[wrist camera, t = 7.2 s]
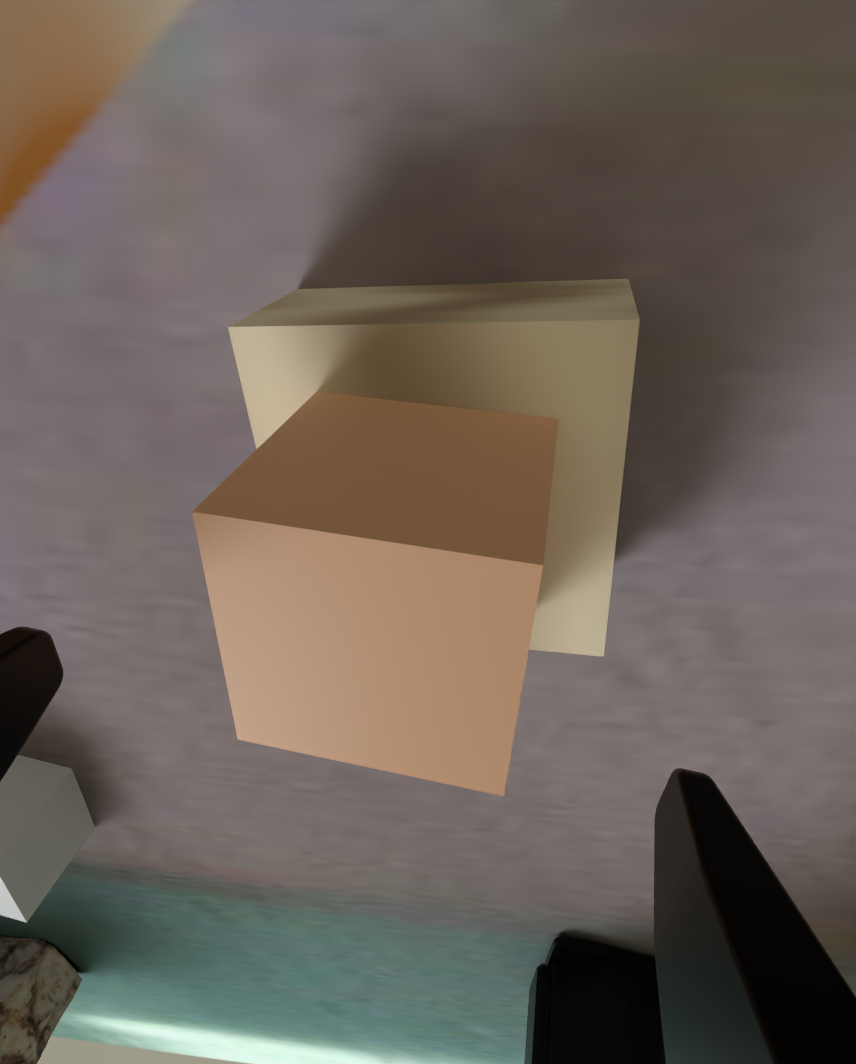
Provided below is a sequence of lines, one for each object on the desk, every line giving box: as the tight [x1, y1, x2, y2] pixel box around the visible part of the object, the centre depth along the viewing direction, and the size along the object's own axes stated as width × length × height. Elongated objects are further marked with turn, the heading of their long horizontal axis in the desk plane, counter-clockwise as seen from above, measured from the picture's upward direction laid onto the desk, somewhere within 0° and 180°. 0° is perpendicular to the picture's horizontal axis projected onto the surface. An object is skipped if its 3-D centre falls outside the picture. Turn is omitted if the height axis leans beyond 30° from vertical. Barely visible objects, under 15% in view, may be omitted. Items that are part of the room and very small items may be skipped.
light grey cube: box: [0, 755, 95, 923], centre depth 30 cm, size 5×5×5 cm
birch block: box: [228, 279, 640, 657], centre depth 16 cm, size 8×8×4 cm
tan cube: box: [192, 391, 558, 796], centre depth 12 cm, size 5×5×5 cm
